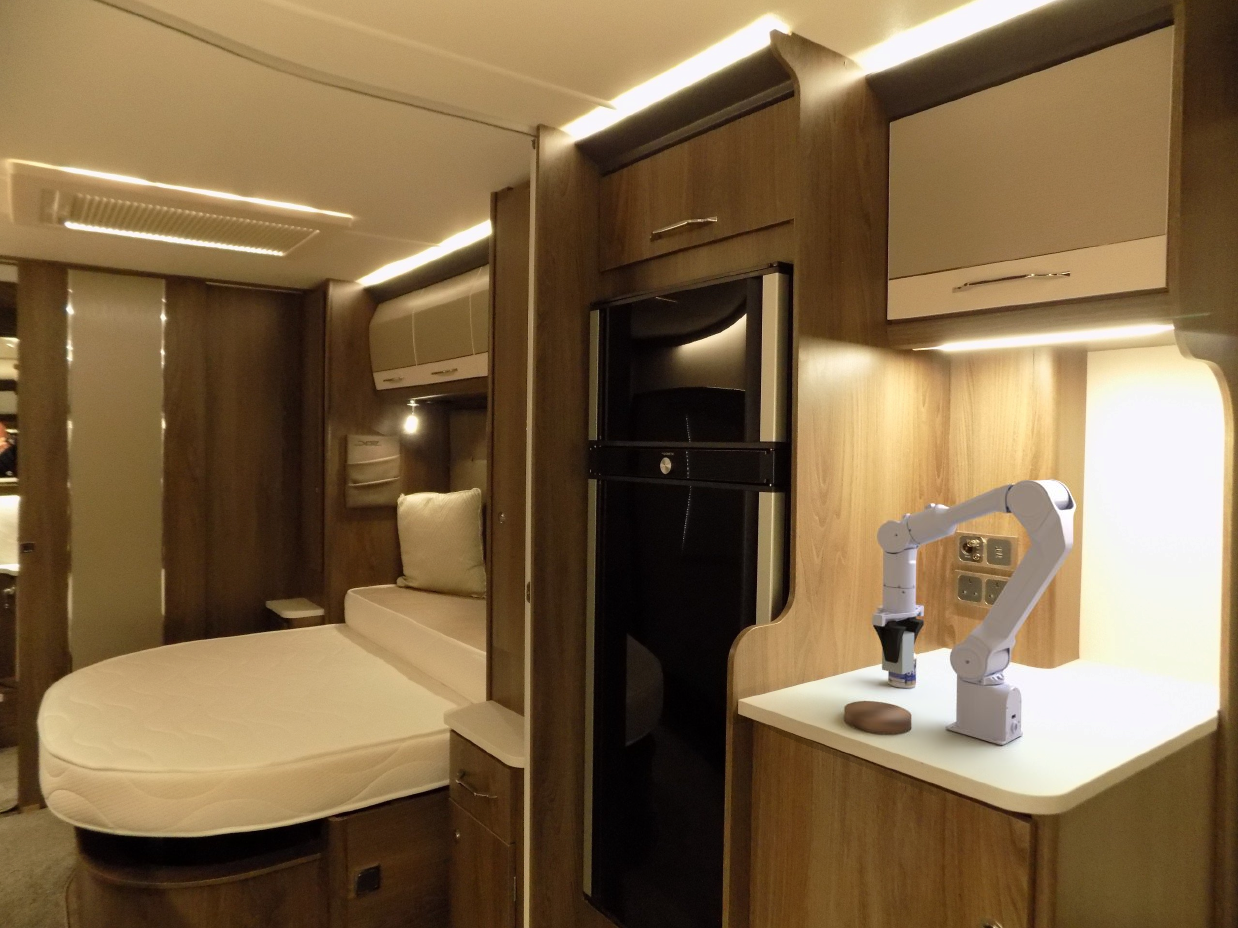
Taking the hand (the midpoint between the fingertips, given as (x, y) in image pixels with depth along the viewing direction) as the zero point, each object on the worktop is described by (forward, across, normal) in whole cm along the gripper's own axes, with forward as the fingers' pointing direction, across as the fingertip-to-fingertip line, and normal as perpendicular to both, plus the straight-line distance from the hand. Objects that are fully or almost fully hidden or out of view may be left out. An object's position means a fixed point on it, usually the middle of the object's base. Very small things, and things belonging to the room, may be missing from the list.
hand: (898, 659), depth 139 cm
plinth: (+9, +10, +2) cm, 14 cm away
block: (+2, 0, 0) cm, 2 cm away
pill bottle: (+9, -14, -7) cm, 18 cm away
